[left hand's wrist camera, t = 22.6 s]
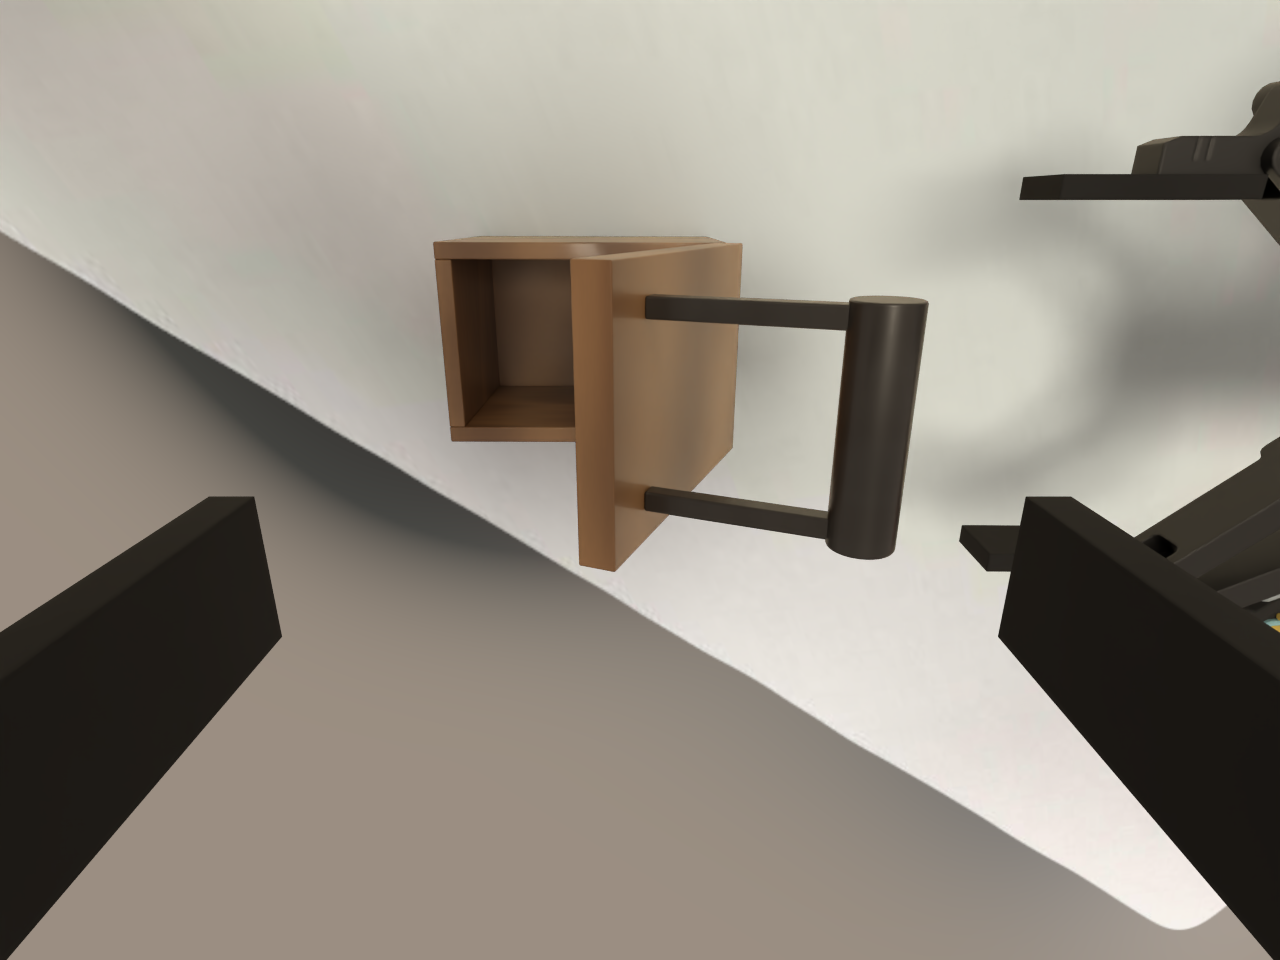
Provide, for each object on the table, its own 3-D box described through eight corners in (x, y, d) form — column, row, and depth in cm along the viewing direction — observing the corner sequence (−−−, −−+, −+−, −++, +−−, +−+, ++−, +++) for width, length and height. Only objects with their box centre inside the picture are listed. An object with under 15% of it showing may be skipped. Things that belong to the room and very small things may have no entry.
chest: (490, 394, 44) (451, 441, 35) (479, 236, 41) (432, 241, 32) (702, 395, 44) (718, 442, 35) (707, 236, 41) (727, 242, 32)
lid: (578, 565, 23) (883, 624, 19) (569, 259, 20) (932, 267, 16) (707, 445, 35) (909, 469, 32) (714, 242, 32) (940, 246, 28)
